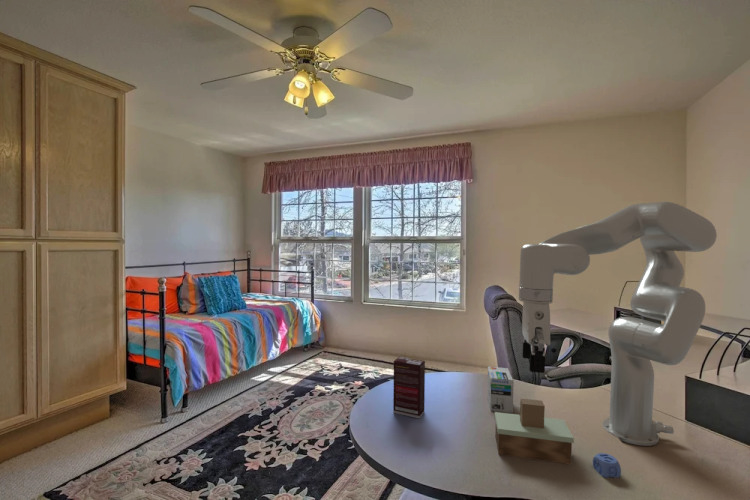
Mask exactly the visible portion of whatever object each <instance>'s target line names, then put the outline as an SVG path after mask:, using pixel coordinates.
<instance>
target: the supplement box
mask: <svg viewBox="0 0 750 500" xmlns="http://www.w3.org/2000/svg"><path fill="white" fill-rule="evenodd" d="M425 373H426V361H425V360H423V359H415V358H409V357H403V356H399V357H397V358H396V359H394V361H393V401H392V402H393V404H392V405H393V406H392V407H393V412H392V413H393V414H398V415H402V416H406V417H410V418H411V417H412V418H415V419H418V420H419V419H421V418H422V416H423V415H424V413H425V398H426V397H425V391H426V390H425V387H426V385H425V384H426V381H425V380H426V379H425V377H426V375H425Z"/></svg>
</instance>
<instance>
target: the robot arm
mask: <svg viewBox="0 0 750 500" xmlns="http://www.w3.org/2000/svg"><path fill="white" fill-rule="evenodd" d="M717 235H718V234H717V229H716V227H715V226H714V224H713V223H712V222H711V220H709V219H708V218H706V217H705V216H702V215H700V214H699V213H696V212H695V211H693V210H691V209H690V208H687V207H685V206H683V205H680V204H678V203H674V202H672V201H671V202H670V201H660V202H659V201H658V202H655V201H654V202H642V203H635V204H630V205H628V206H626V207H624V208H621V209H620V210H618V211H616V212H613V213H612V214H609V215H608V216H606V217H604V218H602V219H599V220H598V221H596V222H593V223H590V224H586V225H582V226H579V227H576V228H574V229H569V230H566V231H563V232H560V233H558V234H555V235H553V236H551V237H549V238H547V239H545V240H542V241H541V242H540V243H527V244H524V245H522V247H521V249H520V256H519V257H520V259H519V260H520V262H519V284H518V285H519V286H518V301H520V302H523V303H522V316H521V317H522V319H521V321H522V322H521V328H522V329H521V330H522V331H521V332H522V336H523V340H522V341H523V342H522V358H523V359H528V360H529V366H528V367H529V368H528V369H529V372H531V373H540V374H545V370H546V369H545V367H546V347H548V346H550V345H551V310H550V304H552V303H553V301H554V300H553V299H554V297H553V296H554V275H555V274H559V275H565V276H576V275H580V274H582V273H584V272H585V271H586V270H587V269H588V268H589V266H590V263H591V258H590V255H591V256H592V255H602V254H607V253H612V252H613V253H614V252H615V251H617V250H619V249H621V248H623V247H625V246H626V245H628V244H630V243H632V242H634V241H636V240H638V239H639V241H640V243H641V246H642V248H643V250H644V254H645V258H646V260H645V261H646V264H645V267H644V270H643V273H642V275H641V277H640V279H639V281H638V284H637V285H636V287H635V289H634V292H633V293H632V296H631V299H630V304H629V305H630V308H631V310H632V311H633V313H635V314H637V315H639V316H641V317H644V318H649V319H652V320H656V321H662V322H664V323H663V324H662V323H659V322H653V321H650V320H646V319H642V318H637V317H633V316H632V317H631V316H622V317H617V318H615V319H614V320H613V321H612V322H611V323H610V325H609V328H608V341H609V346H610V353H611V370H610V373H611V374H610V391H609V395H610V396H609V397H610V398H609V416H608V417H609V418H606V419H604V420H603V421H602V427H603V429H604V430H605V431H606V432H608V433H609V434H611V435H612V436H614V437H616V438H618V439H619V441H621V442H624V443H627V444H631V445H636V446H642V447H644V446H645V447H649V446H650V447H651V446H655V445H657V444H658V443H659V440H660V438H659V437H660V436H659V434H661V433H664V434H671V435H673V434H674V433H675V431H674V428H673V426H672V425H666V424H663V422H662V421H657V420H655V421H654V420H653V408H654V388H655V370H654V366H653V365H652V362H656V363H657V364H658V363H659V364H662V365H666V366H677V365H678V364H680V363H681V362H682V361H683V360H684V359H685V358H686V357H687V355H688V354H689V351H690V349H691V347H692V344H693V342H694V340H695V338H696V336H697V334H698V333H699V330H700V328H701V326H702V323H703V320H704V318H705V314H706V301H705V299H704V298H705V297H703V296H702V294H701V293H700V292H699V291H697V290H696V289H693V288H689V287H684V286H680V285H681V283H682V281H683V278H684V275H685V269H684V266H683V264H682V263H681V260H680V259H679V258H678V256H677V253H676V252H689V253H690V252H691V253H698V252H700V253H701V252H705V251H708V250H709V249H711V248H712V247H713V245H714V244H715V243H716V241H717V237H718V236H717ZM545 346H546V347H545ZM651 361H652V362H651Z"/></svg>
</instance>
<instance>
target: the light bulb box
mask: <svg viewBox="0 0 750 500" xmlns="http://www.w3.org/2000/svg"><path fill="white" fill-rule="evenodd" d="M514 382H515V380H514V378H513V377H512V375H511V372H510V369H509V367H508V368H507V367H497V366H487V392H486V393H487V395H486V396H487V397H486V398H487V404H488V408H489V410H490V411H491V412H499V413H508V414H514V385H515V384H514Z"/></svg>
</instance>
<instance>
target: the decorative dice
mask: <svg viewBox="0 0 750 500" xmlns="http://www.w3.org/2000/svg"><path fill="white" fill-rule="evenodd" d="M592 467H593V469H595V471H596V472H597V473H598V474H599V475H600V476H601V477H603V478H605V479H607V478H608V479H609V478H615V479H616V478H618V479H619V478H620V476H621V474H622V469H621V465H620V462H619V461H618V459H617V458H616V457H615V456H613V455H611V454H609V453H604V452H599V453H596V455H594V457H592Z"/></svg>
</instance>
